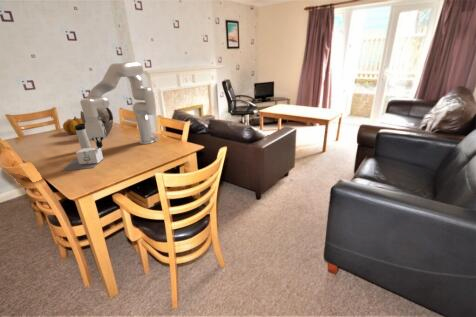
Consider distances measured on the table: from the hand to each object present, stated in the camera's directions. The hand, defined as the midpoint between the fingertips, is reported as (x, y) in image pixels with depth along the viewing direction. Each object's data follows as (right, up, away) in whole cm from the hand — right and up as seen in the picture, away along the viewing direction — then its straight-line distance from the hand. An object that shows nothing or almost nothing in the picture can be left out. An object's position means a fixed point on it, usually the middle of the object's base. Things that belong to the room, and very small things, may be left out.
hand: (100, 147), depth 154 cm
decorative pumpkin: (-64, +18, +75) cm, 100 cm away
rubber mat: (-12, -11, +2) cm, 16 cm away
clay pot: (-34, +13, +61) cm, 71 cm away
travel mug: (-24, -1, +25) cm, 35 cm away
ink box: (-2, -5, +2) cm, 6 cm away
